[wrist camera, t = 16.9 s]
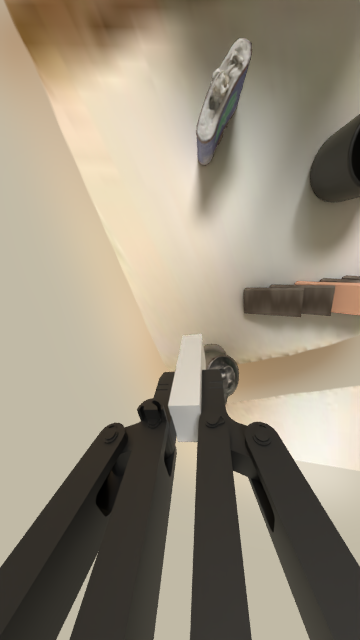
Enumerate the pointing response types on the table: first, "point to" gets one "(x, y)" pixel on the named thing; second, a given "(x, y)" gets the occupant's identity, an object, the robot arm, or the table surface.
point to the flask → (222, 98)
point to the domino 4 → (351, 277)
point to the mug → (338, 165)
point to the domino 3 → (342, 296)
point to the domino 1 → (274, 301)
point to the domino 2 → (315, 298)
